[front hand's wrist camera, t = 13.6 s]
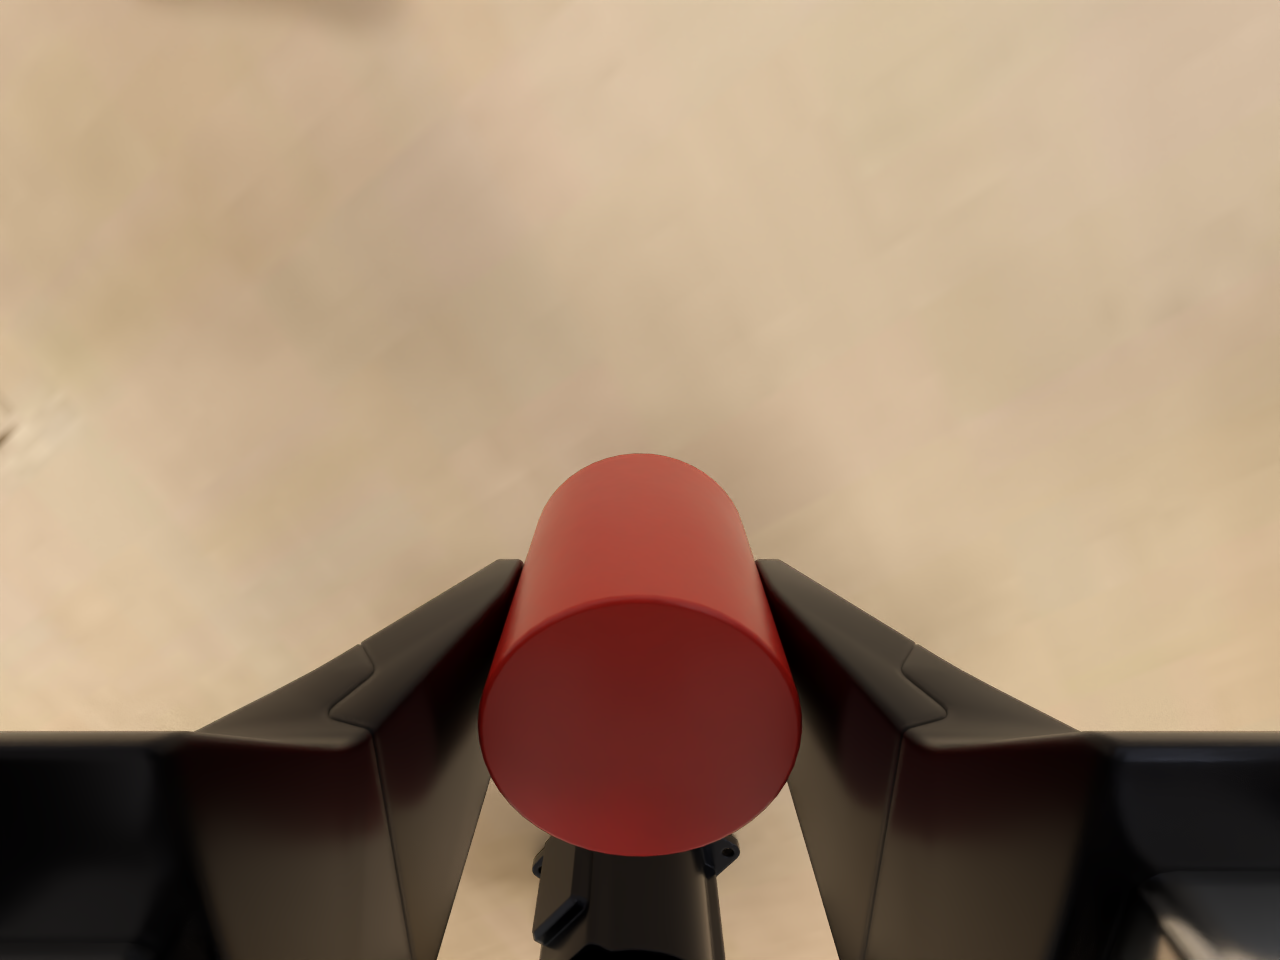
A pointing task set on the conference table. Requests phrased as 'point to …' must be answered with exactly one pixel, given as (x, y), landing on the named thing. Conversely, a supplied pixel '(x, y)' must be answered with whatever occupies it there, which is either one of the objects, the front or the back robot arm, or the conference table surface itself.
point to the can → (639, 667)
